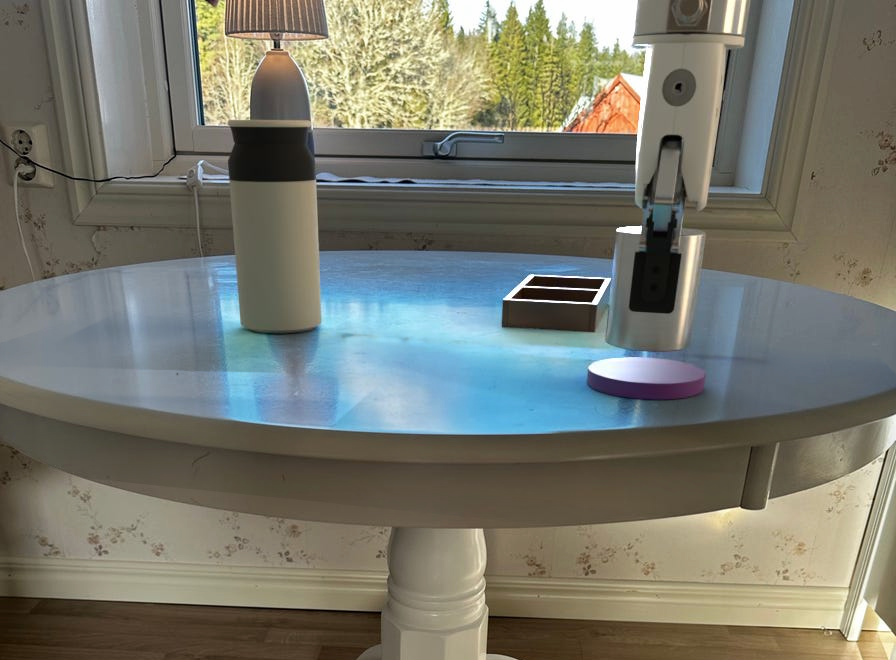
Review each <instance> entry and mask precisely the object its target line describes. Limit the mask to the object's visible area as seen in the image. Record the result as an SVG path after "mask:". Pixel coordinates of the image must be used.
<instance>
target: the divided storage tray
mask: <svg viewBox="0 0 896 660" xmlns="http://www.w3.org/2000/svg"><path fill="white" fill-rule="evenodd" d="M611 280H612V277H610V278H609V277H607V278H606V277H588V276H587V277H584V276H567V275H566V276H563V275H545V274H544V275H543V274H529V275H528V276H527V277H526V278H525V279H524V280H523V281H521V282H520V283H519V284H518V285H517V286H516V287H515V288H514V289H513V290H512V291H511V292H510V293H509V294H507V295H506V296H505V297H504V298H503V299H502V308H501V328H510V329H512V328H513V329H528V330H530V329H531V330H543V331H544V330H545V331H546V330H547V331H560V332H561V331H563V332H567V331H568V332H580V333H581V332H582V333H596V330H597V329H598V326H599V324H600V323H601V320H602V319H603V316H604V314H605V312H606V310H607V308H608V307H609V299H610V289H611Z"/></svg>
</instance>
